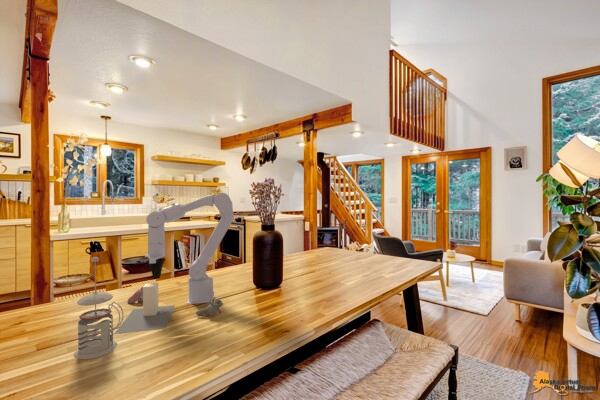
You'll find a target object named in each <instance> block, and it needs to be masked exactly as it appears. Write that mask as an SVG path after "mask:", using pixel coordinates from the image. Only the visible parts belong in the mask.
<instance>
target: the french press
mask: <svg viewBox="0 0 600 400" xmlns="http://www.w3.org/2000/svg"><path fill="white" fill-rule="evenodd" d="M90 262H92V263H94V292H91V293H89V294H85V295H83V296H81V298H79V299H78V300H76V304H77V305H79V306H94V309H91V310H88V311H85V312H83V313H81V314H79V316H78V317H79V321H78V322H77V333H78V334H77V339H78V340H77V345H78V348H77V349H76V350H75V352H73V357H74V359H78V360H90V359H95V358H98V357H101V356H104V355H106V354H109V353H111V352H112V351H113V350H115V349H116V348H117V347H118V343H117V342H116V340H114V331H115V330H116V329H118V328H119V327H120V326H121V325H122V323H123V322H124V321H123V320H124V309H123V307H122V306H121V305H120V304H119V303H117V302H115V301H112V302H111V303H110V304H108V305H107V306H108V307H107V308H105V307H104V308H103V307H102V308H97V305H101V304H104V303H107V302H109V301H111V300H112V299H113V298H114V295H113V294H112V293H109V292H108V291H107V292H106V291H97V271H96V270H97V269H96V267H97V266H96V262H100V257H98V256H93V257H92V258H90ZM114 304H115V305H117V306H118V307H119V308H120V310H121V312H120V311H119V308H118V307H116V306H115V305H114ZM110 306H111V307H110ZM113 308H114V309H115V310H116V311H117V313H118V323H117V324H116V326H115V327H114V319H113V317H114V316H113V314H112V309H113ZM121 315H122V318H121ZM105 318H107V319H105ZM102 319H103V320H102ZM100 320H101V321H100ZM99 321H100V322H99ZM94 323H95V324H94Z"/></svg>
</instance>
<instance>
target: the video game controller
mask: <svg viewBox="0 0 600 400" xmlns="http://www.w3.org/2000/svg"><path fill="white" fill-rule="evenodd" d="M136 302H139V303H141V302H143V286H141V287H140V289H137V290H136V291H135V292H134V293H133V294H132V295H131V296H130V297H129V298H128V299H127V304H135V303H136Z"/></svg>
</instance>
